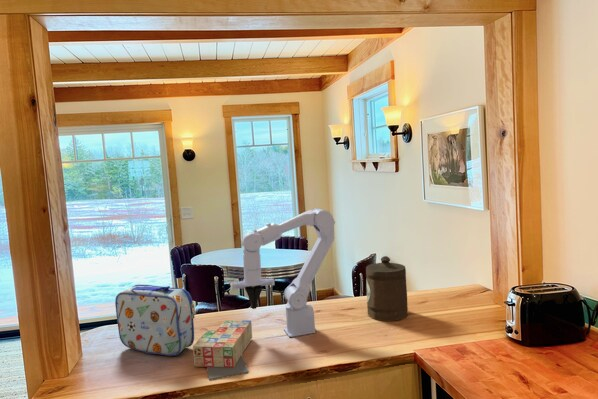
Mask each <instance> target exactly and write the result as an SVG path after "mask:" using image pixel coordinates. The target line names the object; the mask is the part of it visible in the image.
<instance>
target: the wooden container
mask: <svg viewBox="0 0 598 399" xmlns="http://www.w3.org/2000/svg"><path fill="white" fill-rule="evenodd" d="M380 261H381V262H375V263H371V264H368V265H367V266H366V267H365V277H366V280H365V281H366V305H367V307H366V308H367V309H366V310H367V315H368V317H369V318H371V319H374V320H377V321H383V322H394V321H400V320H403V319H405V318H407V316H408V315H409V312H408V311H409V308H408V291H407V276H406V274H407V269H406V265H404V264H401V263H398V262H397V263H395V262H390V261H391V258H390V257H389V256H387V255H385V256H382V257H381V258H380Z"/></svg>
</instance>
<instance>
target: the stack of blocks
mask: <svg viewBox="0 0 598 399" xmlns="http://www.w3.org/2000/svg"><path fill="white" fill-rule="evenodd" d="M252 328H253V327H252V320H251V319H250V320H241V319H240V320H225V321H223V323H222V324H221V325H220V326H219V327H218V329H216V330H206V332H204V334H203V335H202V336H201V337H200V338H199V339H198V340H197V341H196V342H195V344H194V345H193V346H192V349H193V350H192V351H193V352H192V353H193V366H194V367H203V368H204V367H205V368H207V367H234V366H235V365H236V363H237V361H238V360H239V357H240V356H241V355H242V354H243V353H244V351H245V350H246V348H247V347H248V345H249V344H250V342H251V341H252V339H253V329H252ZM242 356H243V355H242Z"/></svg>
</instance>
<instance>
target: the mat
mask: <svg viewBox="0 0 598 399" xmlns="http://www.w3.org/2000/svg"><path fill="white" fill-rule="evenodd" d="M206 371H207V375H209V376H208V380H209V381H212V379H213V380H218V379H223V378H222V377H224V378H228V377H227V376H229V377H232V375H234V376H238V375H237V374H239V375H243V374H242V373H244V374H248V372H249V373H250V370H249V369H248V366H247V364H246V362H245V359H244V356H243V355H241V356H240V357H239V360H238V361H237V363H236V365H235V366H234V367H206ZM217 378H218V379H217Z"/></svg>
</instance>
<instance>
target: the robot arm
mask: <svg viewBox="0 0 598 399" xmlns="http://www.w3.org/2000/svg"><path fill="white" fill-rule="evenodd" d="M335 223H336V221H335V219H334V217H333V214H332V213H331V211H328V210H325V209H322V208H320V207H315V208H313V209H309V210H306V211H304V212H302V213H300V214H297V215H296V216H294V217H292V218H289V219H287V220H285V221H283V222H281V223H279V224H277V223H275V222H271V223H270V222H268V223H266V226H262V227H261V228H258V229H252V230H253V232H252V231H251V232H246V233H245V234H244V235H243V236H242V240H240V241H241V245H242V246H243V251H242V253H243V255H242V256H243V257H242V259H243V261H242V262H243V280H240V281H234V282H231V283H230V289H231V290H232V291H234V290H237V289H244V290H245V293H246V294H247V297H248V299H249V301H250V307H251V309H252V310H253V309H254V310H255V309H257V306H258V302H259V297H260V295H261V293H262V291H263V288H262V287H263V286H275V279H274V278H262V268H261V266H262V265H261V264H262V263H261V261H262V260H261V253H260V251H261V250H260V248H261V247H262V246H263V247H264V246H266V245H268V244H271V243H272V242H275V241H277V240H280V239H281V237H282V235H283V234H284V233H287V232H289V231H293V230H294V229H297V228H299V227H302V226H309V227H314V230H315V231H316V232H315V233H316V235H317V239H316V241H315V243H314V245H313V247H312V248H311V250H310V252H309V254H308V256H307V258H306V260H305V261H304V264H303V266H302V267H301V269H300V271H299V273H298V275H297V277H295V278H294V279H293V280H292V282H291V283H290V284H289V285H288V286H287V287H286V288H285V289H284V292H283V294H284V295H283V296H284V298H285V300H286V301H287V303H286V304H285V317H286V319H285V320H286V327H283V330H284V332H285V333H286V334H287V336H288V337H290V338H293V337H300V336H304V335H310V334H315V333H316V332H317V331H316V326H315V325H316V324H315V311H314V308H313V306H312V305H311V304H307V303H308V296H309V295H310V292H311V291H310V290H311V284H312V282H313V280H314V279H315V276H316V275H317V272H319V269H320V267H321V265H322V263H323V261H324V259H325V257H326V256H327V254H328V252H329V251H330V250H329V249H330V248H331V246H332V244H333V242H334V241H335Z"/></svg>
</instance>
